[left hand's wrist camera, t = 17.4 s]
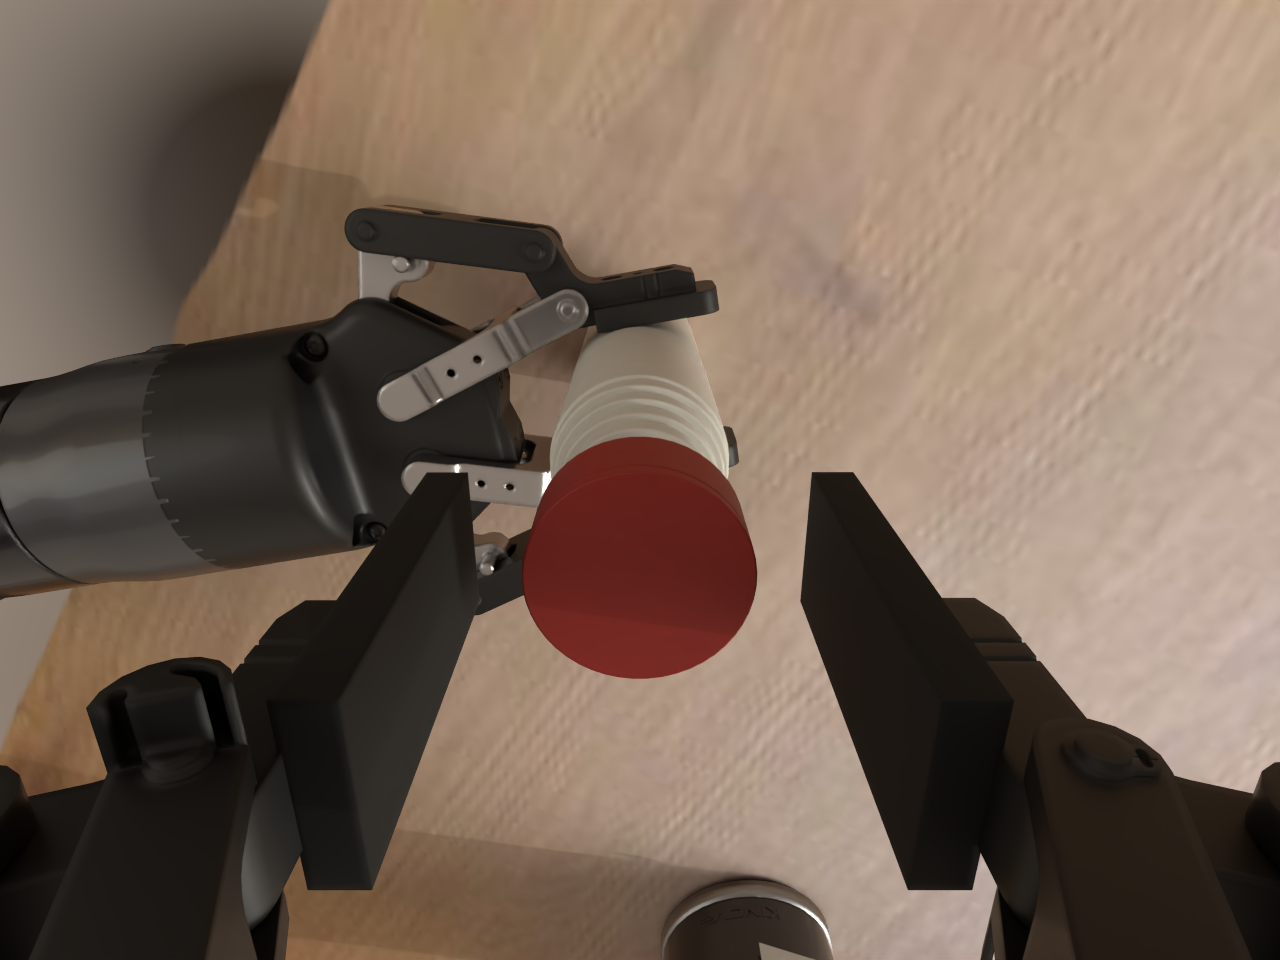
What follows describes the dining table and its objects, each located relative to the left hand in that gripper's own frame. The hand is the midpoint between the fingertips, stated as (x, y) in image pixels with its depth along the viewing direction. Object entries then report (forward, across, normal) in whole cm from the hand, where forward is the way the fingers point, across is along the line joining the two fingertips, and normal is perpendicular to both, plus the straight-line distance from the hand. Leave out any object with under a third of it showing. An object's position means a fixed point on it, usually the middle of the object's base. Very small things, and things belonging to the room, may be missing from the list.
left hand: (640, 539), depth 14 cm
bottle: (+18, 0, 0) cm, 18 cm away
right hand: (+11, -3, 0) cm, 11 cm away
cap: (-1, 0, 0) cm, 1 cm away
